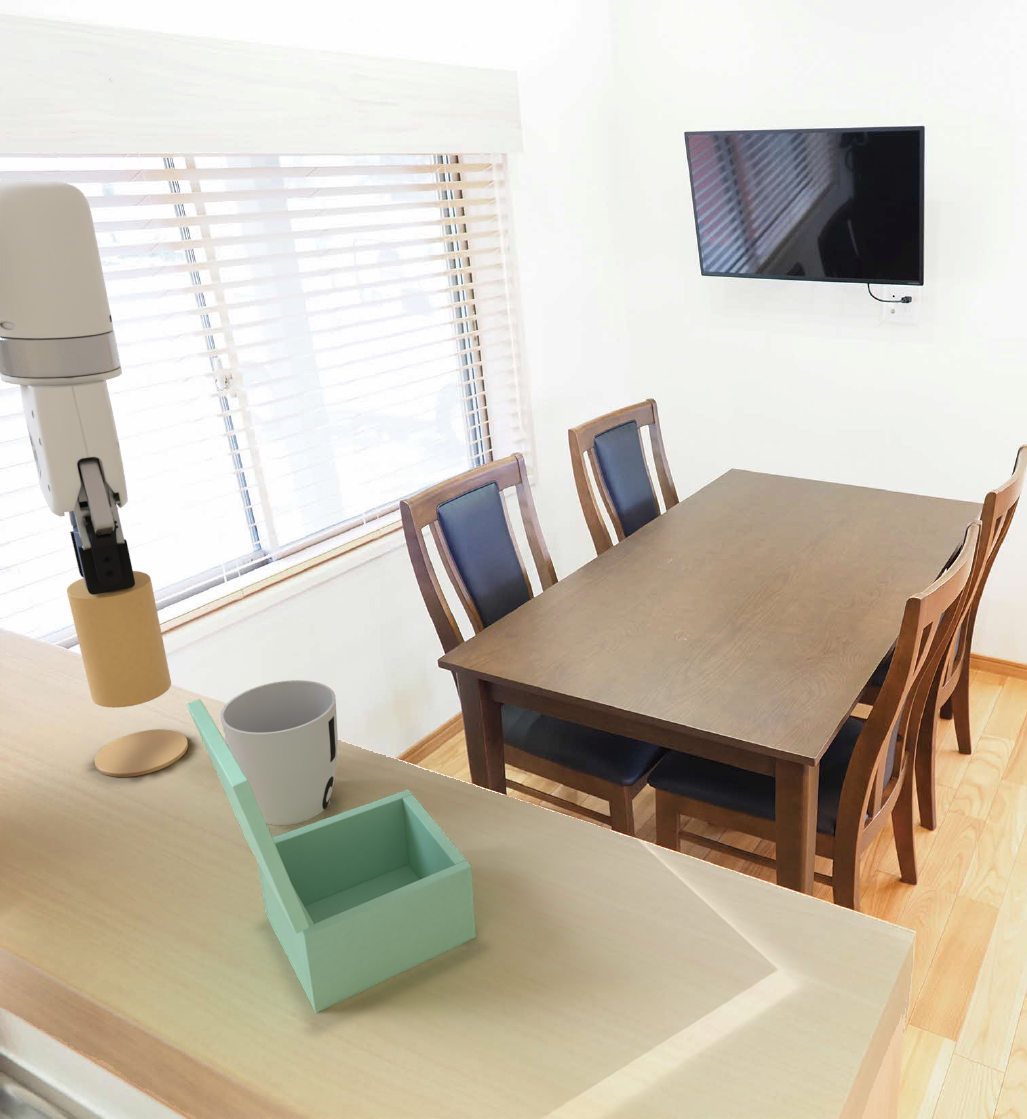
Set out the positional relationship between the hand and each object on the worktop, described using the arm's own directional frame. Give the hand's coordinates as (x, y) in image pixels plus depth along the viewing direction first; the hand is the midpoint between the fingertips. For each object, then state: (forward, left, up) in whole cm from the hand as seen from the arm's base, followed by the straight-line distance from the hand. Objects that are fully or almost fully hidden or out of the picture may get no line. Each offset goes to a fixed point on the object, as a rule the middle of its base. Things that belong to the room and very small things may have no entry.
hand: (107, 579), depth 78 cm
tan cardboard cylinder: (0, 0, -10) cm, 10 cm away
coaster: (0, 0, -17) cm, 17 cm away
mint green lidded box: (+8, -33, -17) cm, 38 cm away
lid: (+2, -33, -4) cm, 33 cm away
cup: (+8, -16, -17) cm, 25 cm away
